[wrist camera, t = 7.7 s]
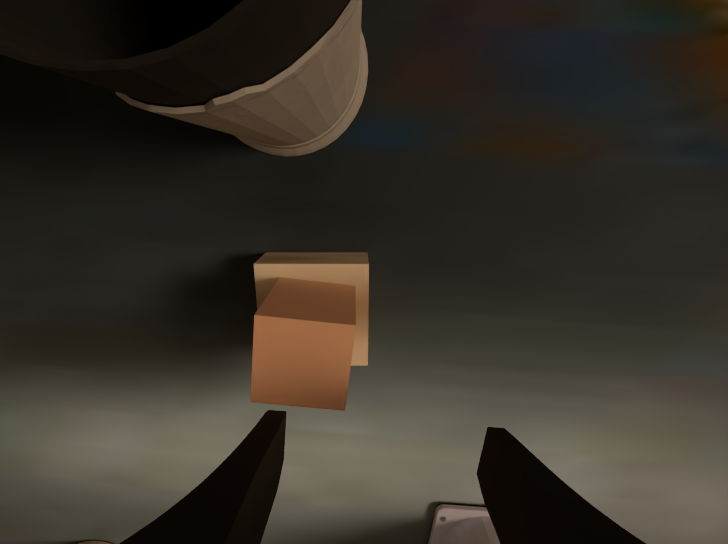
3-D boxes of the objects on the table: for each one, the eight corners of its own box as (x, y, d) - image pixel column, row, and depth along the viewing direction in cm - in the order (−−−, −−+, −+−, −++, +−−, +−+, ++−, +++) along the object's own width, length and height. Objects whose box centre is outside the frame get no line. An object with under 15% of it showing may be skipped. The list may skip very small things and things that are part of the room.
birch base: (366, 341, 23) (367, 365, 20) (273, 341, 23) (262, 366, 20) (367, 251, 22) (368, 263, 19) (267, 251, 21) (253, 263, 18)
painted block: (347, 352, 20) (344, 410, 15) (275, 345, 20) (250, 402, 15) (355, 285, 19) (355, 325, 14) (279, 277, 19) (254, 314, 14)
